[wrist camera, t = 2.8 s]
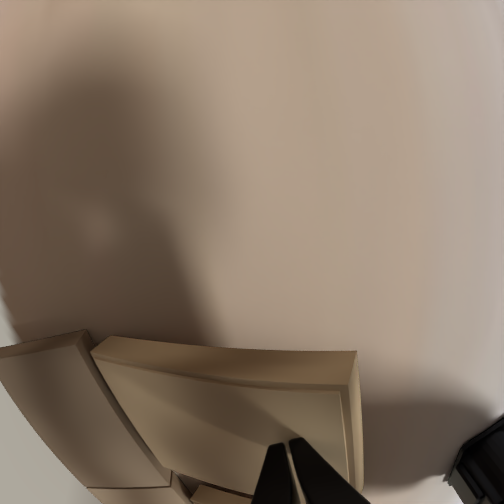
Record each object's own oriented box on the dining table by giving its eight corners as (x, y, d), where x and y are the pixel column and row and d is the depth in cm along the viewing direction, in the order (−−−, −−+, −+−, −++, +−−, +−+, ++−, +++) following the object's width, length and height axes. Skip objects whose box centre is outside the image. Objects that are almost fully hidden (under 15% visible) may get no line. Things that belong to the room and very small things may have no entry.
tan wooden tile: (86, 329, 11) (75, 344, 10) (224, 530, 17) (225, 543, 15) (0, 347, 11) (-12, 360, 10) (156, 534, 16) (155, 545, 15)
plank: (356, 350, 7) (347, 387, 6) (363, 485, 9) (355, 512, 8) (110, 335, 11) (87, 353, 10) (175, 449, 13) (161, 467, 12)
